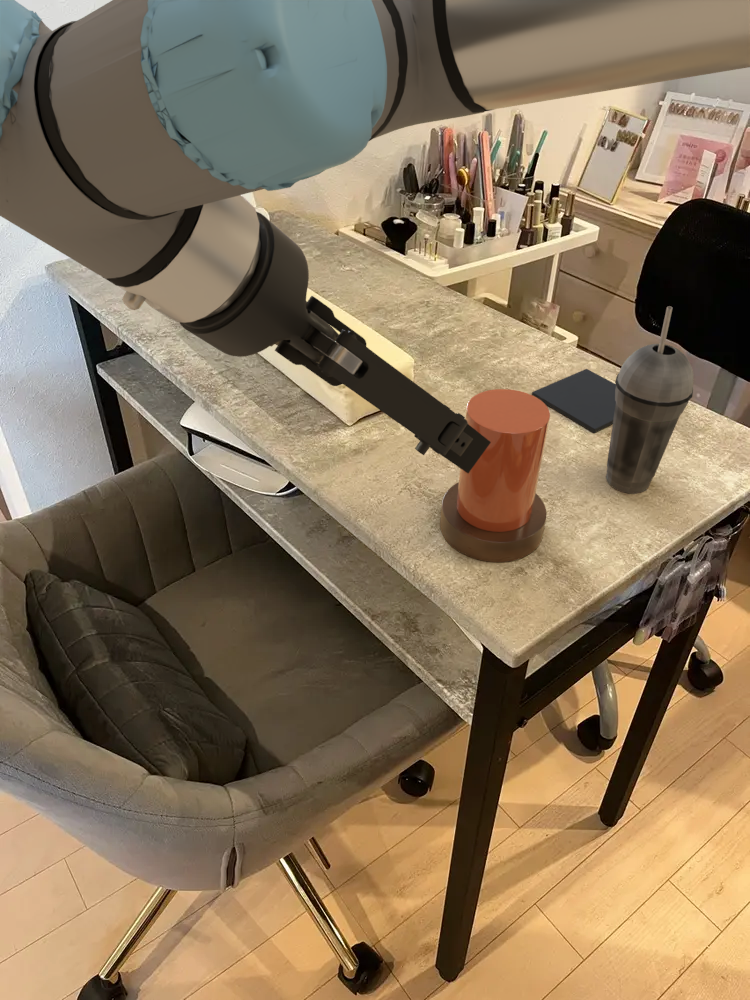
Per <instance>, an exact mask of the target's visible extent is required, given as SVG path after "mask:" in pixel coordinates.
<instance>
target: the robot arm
mask: <svg viewBox="0 0 750 1000" xmlns="http://www.w3.org/2000/svg"><path fill="white" fill-rule="evenodd" d="M748 68H750V0H110V1H108V2H107V3H105V4H103V5H102V6H100V7H98V8H97V9H95V10H93V11H91V12H90V13H88V14H86V15H85V16H83V17H82V18H79V19H78V20H72V21H70V22H66V23H64V24H62V25H60V26H58V27H57V28H55V29H53V30H52V29H51V28H50V27H48V25H46V24H45V23H44V22H43V19H42V18H41V17H40V16H39V14H38V13H37V12H36V11H35V12H34V10H30V9H28V8H27V7H25V6H24V5H22V4H21V3H19V2H18V1H16V0H0V217H1V218H3V219H5V220H6V221H8V222H9V223H11V224H13V225H14V226H16V227H18V228H20V229H21V230H23V231H25V232H26V233H28V234H29V235H31V236H33V237H35V238H36V239H38V240H39V241H41V242H43V243H45V244H46V245H48V246H49V247H51V248H53V249H54V250H57V251H58V252H60V253H61V254H63V255H65V256H66V257H68V258H70V259H71V260H73V261H75V262H76V263H78V264H80V265H81V266H83V267H85V268H87V269H88V270H90V271H92V272H93V273H95V274H96V275H99V276H100V277H102V278H103V279H105V280H106V281H108V282H110V283H111V284H113V285H114V286H116V287H119V288H120V289H121V290H123V291H125V293H124V295H122V296H123V297H122V299H121V300H122V303H123V304H124V306H126V307H127V308H128V309H130V310H132V311H136V310H140V308H141V307H142V305H143V304H144V303H146V304H147V305H148V306H150V307H151V308H152V309H154V310H155V311H157V312H158V313H160V314H162V315H163V316H165V317H166V318H168V319H170V320H172V321H173V322H174V321H175V322H176V323H179V324H180V326H181V327H182V328H183V329H185V330H186V331H188V332H189V333H190V334H191V335H193V336H195V337H197V338H199V339H200V340H202V341H203V342H205V343H207V344H209V345H210V346H212V348H215V349H217V350H218V351H220V352H221V353H223V354H225V355H228V356H231V357H239V358H240V357H241V358H242V357H249V356H252V355H255V354H258V353H260V352H263V351H265V350H266V349H267V348H269V347H273V346H275V345H276V347H275V349H274V352H276V353H277V354H279V355H280V356H282V357H283V358H284V359H286V360H287V361H288V362H290V363H292V364H293V365H295V366H303V367H305V368H306V369H308V370H309V371H310V372H311V373H312V374H314V375H315V376H317V377H319V378H320V379H321V380H323V381H324V382H326V383H327V384H329V385H330V386H332V387H338V386H341V385H343V386H344V387H346V388H348V389H349V390H351V391H352V392H354V393H355V394H356V395H357V396H359V397H360V398H362V399H364V400H365V401H366V402H367V403H369V404H370V405H372V406H373V407H375V408H377V409H378V410H379V411H381V412H382V413H383V414H385V415H386V416H388V417H389V418H390V419H392V421H395V422H396V423H397V424H399V425H400V426H402V427H403V428H405V429H406V430H407V431H409V432H410V433H412V434H413V435H414V438H416V439H417V440H418V441H419V442H417V445H416V446H415V448H414V449H415V451H417V452H418V453H419V454H421V455H422V456H425V455H426V454H427V452H428V450H429V449H431V450H432V451H433V452H435V453H436V454H437V455H439V456H442V457H443V458H444V459H446V460H448V461H449V462H450V463H452V464H453V465H455V466H456V467H458V468H459V469H460V468H461V469H462V470H464V471H465V472H467V473H469V472H470V470H471V469H472V468H473V466H474V465H475V464H476V462H477V461H478V459H479V458H480V457H481V455H482V454H483V452H484V451H485V450H486V448H487V447H488V446H489V444H490V443H491V442H490V441H489V440H488V439H486V438H485V437H484V436H482V435H481V434H480V433H479V432H477V431H476V430H475V429H474V428H472V427H471V426H470V425H469V424H468V422H467V420H466V419H465V418H466V416H464V415H463V414H461V413H460V412H458V413H457V412H455V411H454V410H452V409H451V408H450V407H449V406H448V405H446V404H444V403H443V402H441V401H440V400H438V399H437V397H434V396H433V395H432V394H431V393H429V392H428V391H427V390H425V389H424V388H422V387H421V386H420V385H419V384H417V383H415V381H413V380H412V379H410V378H409V377H408V376H406V375H405V374H403V373H402V372H401V371H399V370H398V369H397V368H395V367H394V366H393V365H391V364H390V363H389V362H388V361H386V360H385V359H383V358H382V357H381V356H379V355H378V354H376V353H375V352H374V351H373V350H372V349H370V348H369V347H367V340H366V339H365V338H364V337H363V336H362V335H360V334H359V333H357V332H356V331H355V330H353V329H352V328H351V327H349V326H348V325H347V324H345V323H344V322H342V321H341V320H340V319H338V318H337V317H336V316H335V314H334V311H333V309H331V308H330V307H329V306H328V305H326V304H325V303H323V302H322V301H321V300H320V299H318V298H317V297H315V296H314V295H311V296H310V297H309V299H308V300H307V294H308V287H309V279H310V278H309V277H310V271H309V265H308V261H307V258H306V255H305V253H304V251H303V250H302V248H301V247H300V246H299V245H298V244H297V243H296V242H295V241H294V240H293V239H292V238H290V237H289V236H288V235H287V234H286V233H285V232H284V231H282V229H280V228H279V227H278V226H277V225H275V224H274V223H273V222H272V221H271V220H270V219H268V218H267V217H266V216H265V215H263V214H262V213H261V212H259V211H257V210H256V208H255V206H254V205H252V203H251V202H250V201H249V200H248V199H247V198H246V197H245V196H243V195H246V194H251V193H254V192H257V191H261V190H265V191H267V192H271V191H279V190H284V189H290V188H291V187H293V186H294V185H295V184H296V183H298V182H300V181H304V180H307V179H309V178H312V177H314V176H317V175H320V174H322V173H323V172H325V171H326V170H329V169H333V168H335V167H339V166H341V165H343V164H346V163H348V162H349V161H351V160H353V159H354V158H356V156H358V155H359V154H361V152H363V151H364V150H365V148H366V147H367V146H368V143H369V142H371V141H372V140H374V139H377V138H379V137H382V136H384V135H387V134H390V133H392V132H395V131H397V130H401V129H405V128H408V127H413V126H415V125H416V126H417V125H420V124H421V125H423V124H426V123H432V122H438V121H439V122H440V121H444V120H451V119H456V118H457V119H458V118H463V117H468V116H473V115H477V114H482V113H485V112H491V111H494V110H498V109H504V108H511V107H517V106H523V105H529V104H534V103H541V102H547V101H548V102H549V101H553V100H559V99H566V98H571V97H577V96H584V95H589V94H595V93H601V92H608V91H613V90H619V89H625V88H632V87H639V86H644V85H650V84H651V85H652V84H656V83H657V84H658V83H663V82H668V81H674V80H681V79H688V78H693V77H698V76H705V75H706V76H707V75H711V74H717V73H723V72H729V71H734V70H743V69H748ZM338 332H339V333H338Z"/></svg>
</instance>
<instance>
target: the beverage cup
mask: <svg viewBox="0 0 750 1000" xmlns="http://www.w3.org/2000/svg"><path fill="white" fill-rule="evenodd" d="M672 312H673V307H672V306H670V305H669V306H667V307H666V309H665V315H664V319H663V324H662V328H661V333H660V337H659V342H658V343H651V344H647V345H644V346H642V347H639V348H638V349H636V350H635V351H633V352H632V353H631V354H630V355H629V356H628V357H627V358H626V359H625V360H624V362H623V364H622V365H621V367H620V369H619V371H618V373H617V375H616V377H615V381H614V384H616V389H615V401H616V406H615V413H614V419H613V424H612V425H611V434H610V440H609V442H610V443H609V448H608V454H607V461H606V474H605V480H606V482H607V483H608V485H609V486H610V487H612V488H613V489H614V490H616V491H619V492H621V493H625V494H636V495H637V494H641V493H644V492H645V491H647V490H648V489H649V487H650V485H651V483H652V481H653V479H654V477H655V475H656V473H657V471H658V468H659V466H660V464H661V462H662V459H663V457H664V454H665V451H666V449H667V447H668V445H669V442H670V441H671V438H672V436H673V433H674V431H675V428H676V425H677V423H678V421H679V419H680V416H681V415H682V414H683V413H684V412H685V409H686V407H687V406H688V404H689V401H690V400H691V399H692V398H693V395H694V383H695V375H694V374H695V373H694V369H693V365H692V364H691V362H690V361H689V359H688V357H687V356H686V355H685V354H684V352H682V351H681V350H679V349H678V348H677V347H674V346H672V345H669V344H666V340H667V337H668V336H667V335H668V331H669V327H670V322H671V317H672Z"/></svg>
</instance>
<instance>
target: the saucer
mask: <svg viewBox="0 0 750 1000" xmlns="http://www.w3.org/2000/svg"><path fill="white" fill-rule="evenodd" d="M458 484H459V481H458V482H457V483H454V484H453V485H452V486H450V487H449V488H448V490H446V491H445V493H444V495H443V497H442V499H441V500H442V501H441V508H440V519H439V522H440V523H439V527H440V531H441V533H442V536H443V538H444V539H445V541H446V542H447V543H448V544H449V545H450V546H451V547H452V548H453V549H455V550H456V551H457V552H458V553H461V554H463V555H465V556H467V557H469V558H472V559H474V560H478V561H482V562H489V563H507V562H513V561H517V560H521V559H523V558H525V557H527V556H529V555H531V554H532V553H533V552H534V551H535V550H537V548H539V546H540V545H541V542H542V539H543V536H544V532H545V531H544V530H545V526H546V521H547V516H548V515H547V507H546V505H545V503H544V501H543V500H542V498H541V497H540V496H539V495H538V494H537V493H536V494H535V499H534V504H533V510H532V514H531V517H530V519H529V521H528V522H527V523H526V524H525V525H523V526H522V527H520V528H518V529H515V530H512V531H506V532H492V531H486V530H482V529H479V528H477V527H474V526H472V525H471V524H469V523H468V522H466V521H465V520H464V519H463V518H462V517H461V516H460V514H459V512H458V510H457V504H456V503H457V493H458Z"/></svg>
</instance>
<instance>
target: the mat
mask: <svg viewBox="0 0 750 1000" xmlns="http://www.w3.org/2000/svg"><path fill="white" fill-rule="evenodd" d="M615 389H616V383H615V382H613V381H611V380H609V379H607V378H605V377H603V376H601V375H599V374H598V373H595V372H593V371H592V370H589V369H588V368H585V369H582V370H580V371H577V372H576V373H573V374H571V375H568V376H566V377H564V378H562V379H559V380H557V381H555V382H552V383H550V384H548V385H545V386H543V387H540V388H538V389H536V390H534V391H532V392H531V395H533V396H535V397H537V398H538V399H540V400H541V401H542V402H543V403H544V404H545V405H546V406H547V407H548V408H551V409H553V410H554V411H556V412H557V413H559V414H561V415H563V416H565V417H566V418H568V419H569V420H571V421H572V422H575V423H576V424H577V425H580V426H581V427H583V428H585V429H586V430H588V431H589V432H591V433H593V434H595V433H597V432H600V431H601V430H603V429H605V428H607V427H609V426H613V419H614V413H615V406H616V401H615Z"/></svg>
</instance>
